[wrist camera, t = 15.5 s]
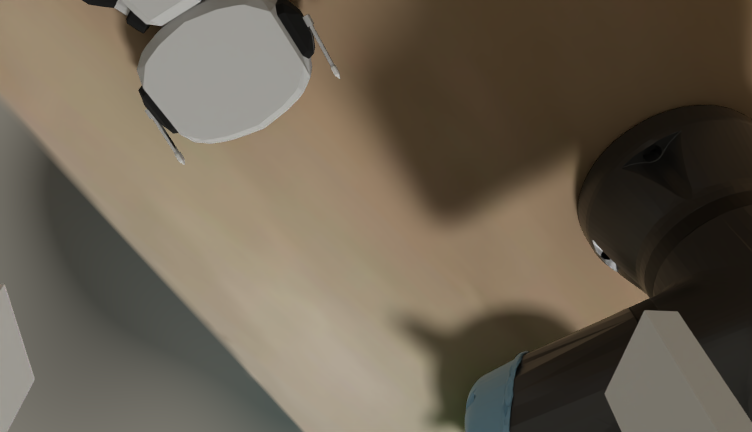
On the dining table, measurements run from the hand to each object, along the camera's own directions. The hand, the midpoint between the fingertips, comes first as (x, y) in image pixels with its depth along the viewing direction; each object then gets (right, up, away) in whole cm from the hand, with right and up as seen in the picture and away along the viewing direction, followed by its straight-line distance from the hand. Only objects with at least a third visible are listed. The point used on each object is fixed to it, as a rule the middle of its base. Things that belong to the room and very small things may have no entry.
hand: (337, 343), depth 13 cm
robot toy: (-10, +16, +25) cm, 32 cm away
